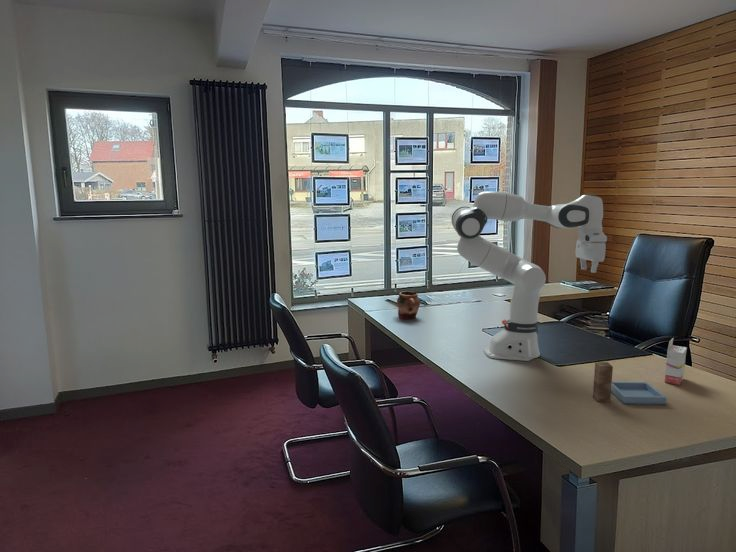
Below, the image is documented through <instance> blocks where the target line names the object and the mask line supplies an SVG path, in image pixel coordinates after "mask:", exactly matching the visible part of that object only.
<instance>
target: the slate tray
mask: <svg viewBox="0 0 736 552" xmlns="http://www.w3.org/2000/svg"><path fill="white" fill-rule="evenodd" d="M611 394H612V395H613V396H614V397H616V398H617V399H618V400H619V402H621V403H622V404H623V405H644V406H645V405H649V406H653V405H654V406H666V405H667V400H668V397H667V396H666V395H664V394H663V393H662V392H660V391H659V390H658V389H657V388H655V387H654V386H653V385H651V383H650V382H648V381H612V385H611Z"/></svg>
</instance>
